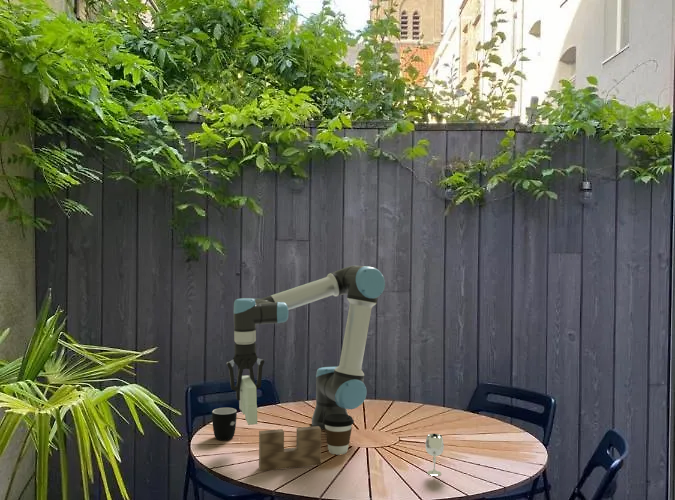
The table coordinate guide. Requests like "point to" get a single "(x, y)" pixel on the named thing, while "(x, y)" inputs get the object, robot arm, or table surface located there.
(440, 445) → the wineglass
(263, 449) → the slotted board
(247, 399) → the sage plate
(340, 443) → the coffee cup
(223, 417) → the mug
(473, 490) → the table surface
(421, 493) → the table surface
